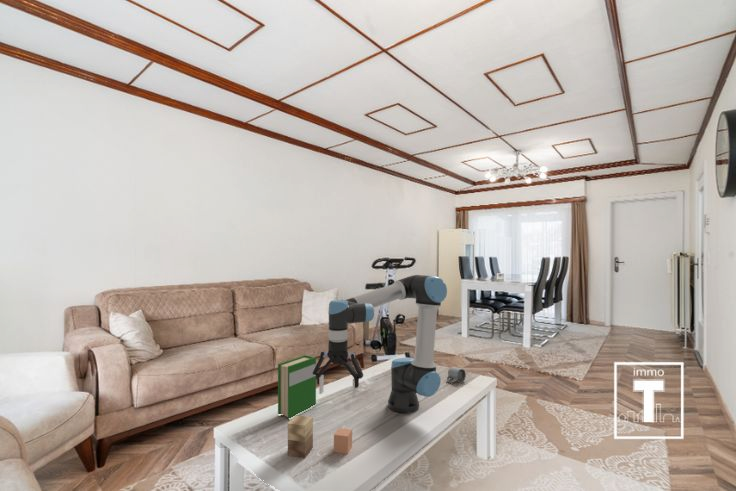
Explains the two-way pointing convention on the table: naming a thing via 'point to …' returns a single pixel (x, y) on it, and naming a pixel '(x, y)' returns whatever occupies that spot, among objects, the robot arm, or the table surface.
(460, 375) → the ceramic mug
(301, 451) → the walnut base block
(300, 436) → the oak middle block
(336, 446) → the terracotta block
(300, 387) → the hardback book
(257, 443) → the table surface
